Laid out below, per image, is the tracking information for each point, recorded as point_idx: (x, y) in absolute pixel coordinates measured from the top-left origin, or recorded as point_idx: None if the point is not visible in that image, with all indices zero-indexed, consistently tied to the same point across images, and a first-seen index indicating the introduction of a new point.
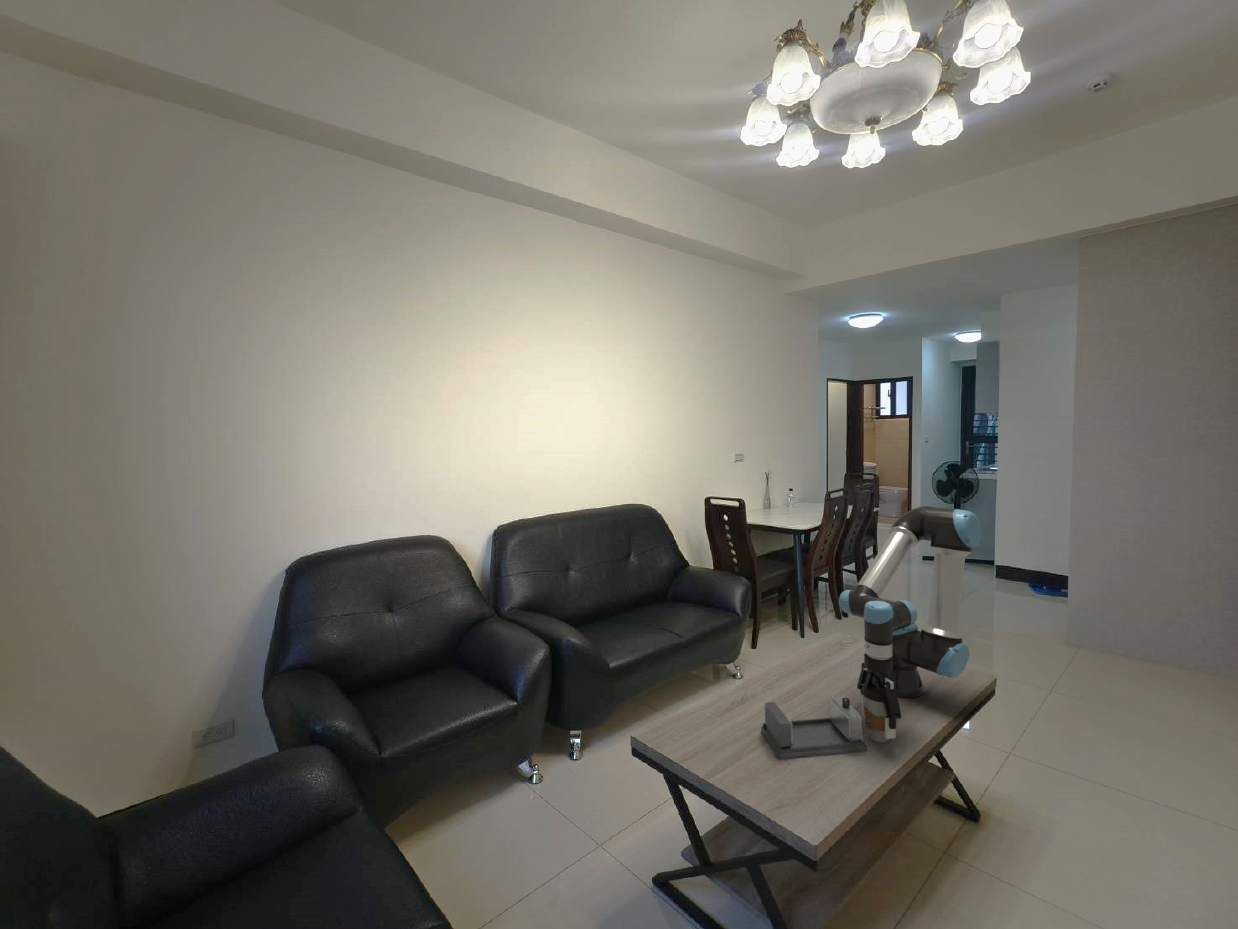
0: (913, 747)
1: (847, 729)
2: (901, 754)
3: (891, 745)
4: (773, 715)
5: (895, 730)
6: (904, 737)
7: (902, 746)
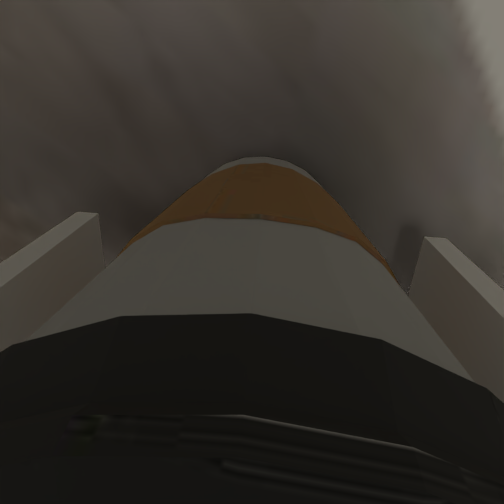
0: (448, 61)
1: None
2: (473, 207)
3: (368, 204)
4: None
5: (480, 269)
6: (312, 35)
7: (405, 138)
